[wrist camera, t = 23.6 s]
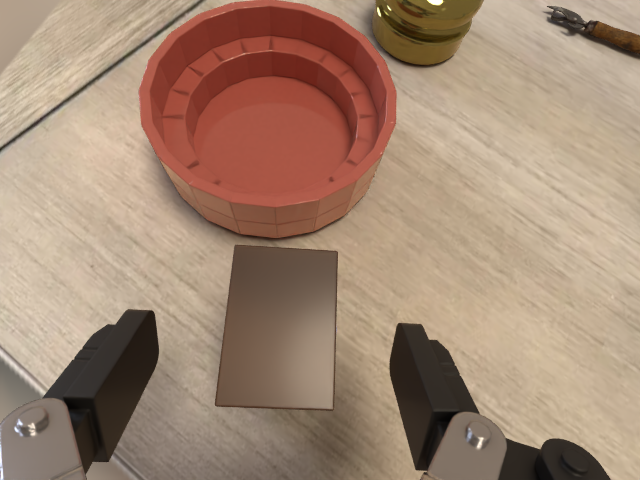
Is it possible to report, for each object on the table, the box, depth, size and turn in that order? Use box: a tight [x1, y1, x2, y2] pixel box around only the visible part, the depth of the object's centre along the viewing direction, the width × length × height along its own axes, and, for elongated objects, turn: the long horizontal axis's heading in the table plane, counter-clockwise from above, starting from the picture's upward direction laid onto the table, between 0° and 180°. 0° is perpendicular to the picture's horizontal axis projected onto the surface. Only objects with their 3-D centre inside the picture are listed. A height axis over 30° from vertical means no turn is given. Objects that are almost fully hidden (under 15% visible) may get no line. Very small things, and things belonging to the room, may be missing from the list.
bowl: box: [139, 0, 397, 238], centre depth 24 cm, size 14×14×5 cm
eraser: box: [215, 245, 338, 411], centre depth 17 cm, size 5×4×10 cm
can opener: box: [547, 6, 640, 54], centre depth 31 cm, size 9×2×1 cm, turn 59°
